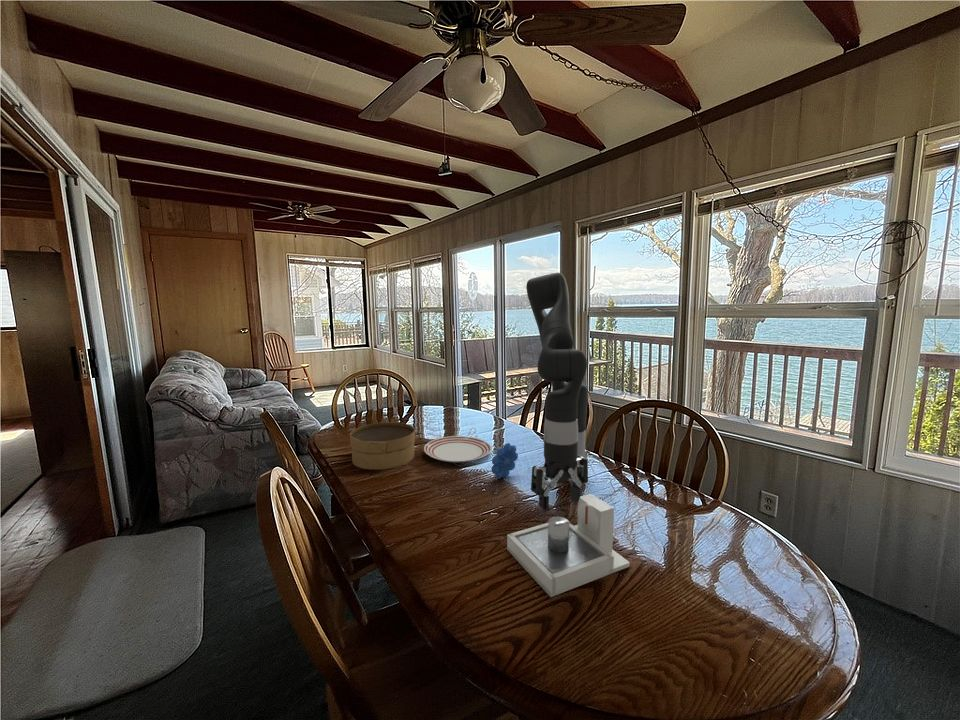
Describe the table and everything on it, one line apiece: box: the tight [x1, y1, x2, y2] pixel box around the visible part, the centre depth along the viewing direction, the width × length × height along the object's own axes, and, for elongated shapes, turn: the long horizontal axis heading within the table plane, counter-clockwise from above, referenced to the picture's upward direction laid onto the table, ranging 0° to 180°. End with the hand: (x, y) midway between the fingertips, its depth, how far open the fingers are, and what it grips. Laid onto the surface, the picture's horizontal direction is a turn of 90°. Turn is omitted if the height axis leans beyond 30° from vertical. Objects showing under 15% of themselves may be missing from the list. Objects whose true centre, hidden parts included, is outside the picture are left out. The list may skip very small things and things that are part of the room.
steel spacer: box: [547, 515, 570, 552], centre depth 92 cm, size 5×5×6 cm
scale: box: [506, 493, 631, 598], centre depth 94 cm, size 22×18×12 cm
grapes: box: [490, 442, 519, 479], centre depth 139 cm, size 12×7×12 cm, turn 127°
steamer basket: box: [349, 421, 416, 471], centre depth 158 cm, size 25×25×11 cm
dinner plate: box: [423, 435, 493, 464], centre depth 161 cm, size 27×27×3 cm
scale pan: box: [517, 528, 602, 574], centre depth 93 cm, size 14×15×1 cm
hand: (559, 505), depth 91 cm, fingers open, 8 cm apart
